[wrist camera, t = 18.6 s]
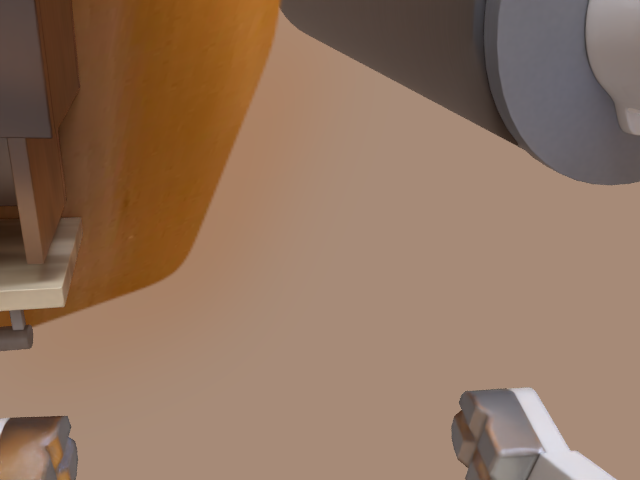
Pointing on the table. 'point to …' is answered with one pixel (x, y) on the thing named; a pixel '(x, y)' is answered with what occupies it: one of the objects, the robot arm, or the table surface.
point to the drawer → (34, 234)
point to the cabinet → (36, 67)
